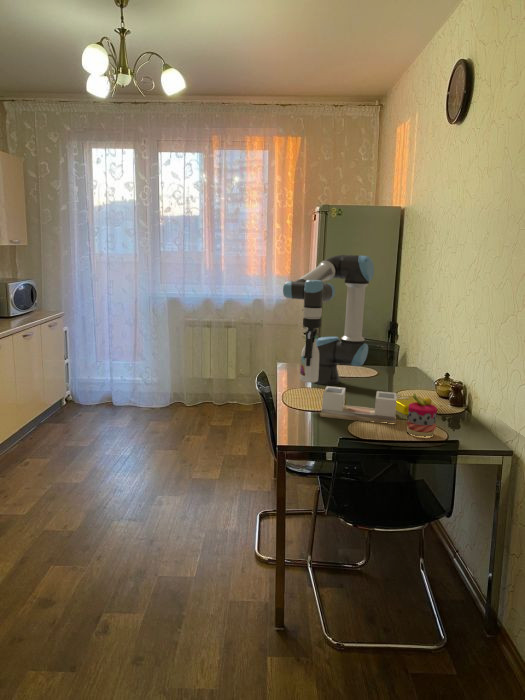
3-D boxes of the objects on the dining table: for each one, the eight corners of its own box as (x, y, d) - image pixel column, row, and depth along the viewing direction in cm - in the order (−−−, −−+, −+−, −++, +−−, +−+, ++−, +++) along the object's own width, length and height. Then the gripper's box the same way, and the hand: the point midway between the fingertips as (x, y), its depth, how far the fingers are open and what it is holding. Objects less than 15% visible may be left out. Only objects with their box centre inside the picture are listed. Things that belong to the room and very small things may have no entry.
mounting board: (324, 406, 230) (325, 400, 229) (395, 414, 223) (396, 407, 222) (319, 416, 215) (320, 410, 215) (395, 424, 208) (396, 418, 208)
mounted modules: (325, 404, 228) (326, 385, 226) (394, 411, 221) (396, 392, 220) (321, 412, 216) (323, 392, 215) (394, 420, 210) (396, 400, 208)
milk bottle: (319, 379, 228) (322, 333, 224) (316, 383, 221) (318, 336, 216) (301, 377, 230) (304, 332, 226) (298, 381, 223) (300, 335, 218)
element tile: (405, 416, 222) (406, 405, 221) (387, 406, 236) (388, 395, 235) (436, 414, 226) (437, 403, 225) (416, 404, 240) (417, 394, 239)
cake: (429, 429, 205) (433, 392, 202) (439, 439, 194) (443, 399, 191) (402, 428, 204) (405, 391, 201) (410, 438, 194) (414, 399, 191)
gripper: (307, 313, 230) (304, 365, 235) (298, 320, 211) (296, 375, 215) (324, 315, 229) (321, 366, 233) (317, 321, 209) (314, 377, 214)
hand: (309, 370), depth 224 cm, fingers closed on milk bottle, 8 cm apart
